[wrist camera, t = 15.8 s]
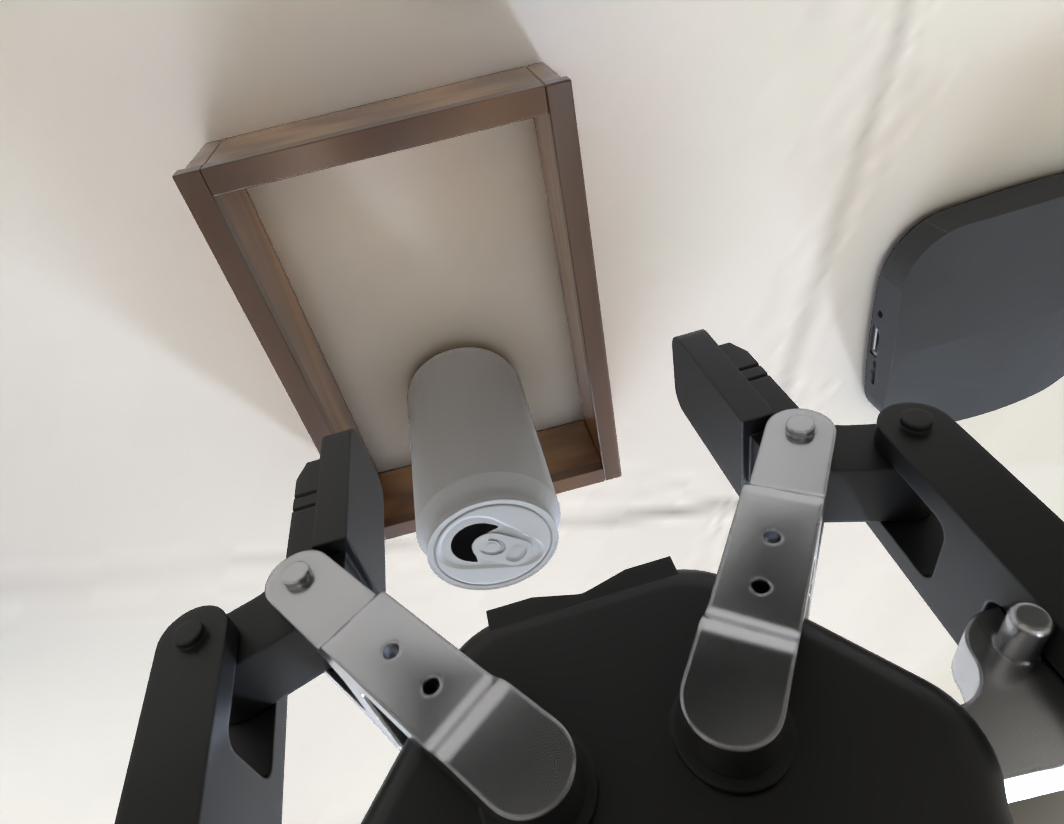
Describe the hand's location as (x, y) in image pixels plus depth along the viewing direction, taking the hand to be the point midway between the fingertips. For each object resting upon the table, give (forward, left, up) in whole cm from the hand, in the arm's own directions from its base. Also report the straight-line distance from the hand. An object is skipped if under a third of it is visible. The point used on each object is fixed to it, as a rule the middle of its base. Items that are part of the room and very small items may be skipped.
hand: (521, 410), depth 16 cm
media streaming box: (+30, -14, -18) cm, 37 cm away
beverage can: (-2, -11, -18) cm, 21 cm away
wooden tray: (-2, -6, -18) cm, 19 cm away
